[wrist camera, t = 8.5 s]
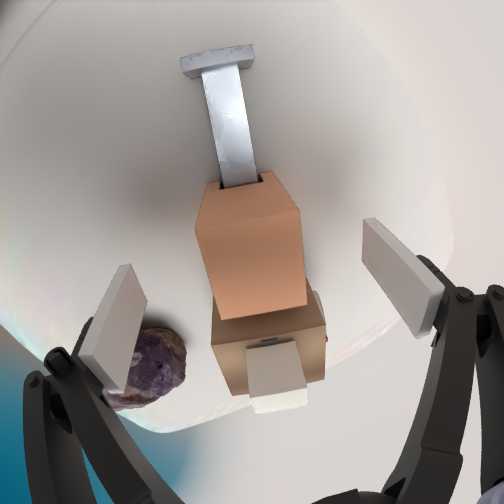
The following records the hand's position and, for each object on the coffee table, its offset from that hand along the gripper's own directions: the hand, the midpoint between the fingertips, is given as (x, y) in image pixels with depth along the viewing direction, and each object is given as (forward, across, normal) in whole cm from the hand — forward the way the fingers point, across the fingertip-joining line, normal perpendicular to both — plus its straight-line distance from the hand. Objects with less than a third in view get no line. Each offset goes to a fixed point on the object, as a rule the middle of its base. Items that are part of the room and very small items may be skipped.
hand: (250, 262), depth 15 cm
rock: (+9, -15, -13) cm, 22 cm away
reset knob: (-2, 0, -6) cm, 6 cm away
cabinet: (+8, 0, -8) cm, 11 cm away
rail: (+9, 0, +3) cm, 9 cm away
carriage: (+9, 0, -1) cm, 9 cm away
